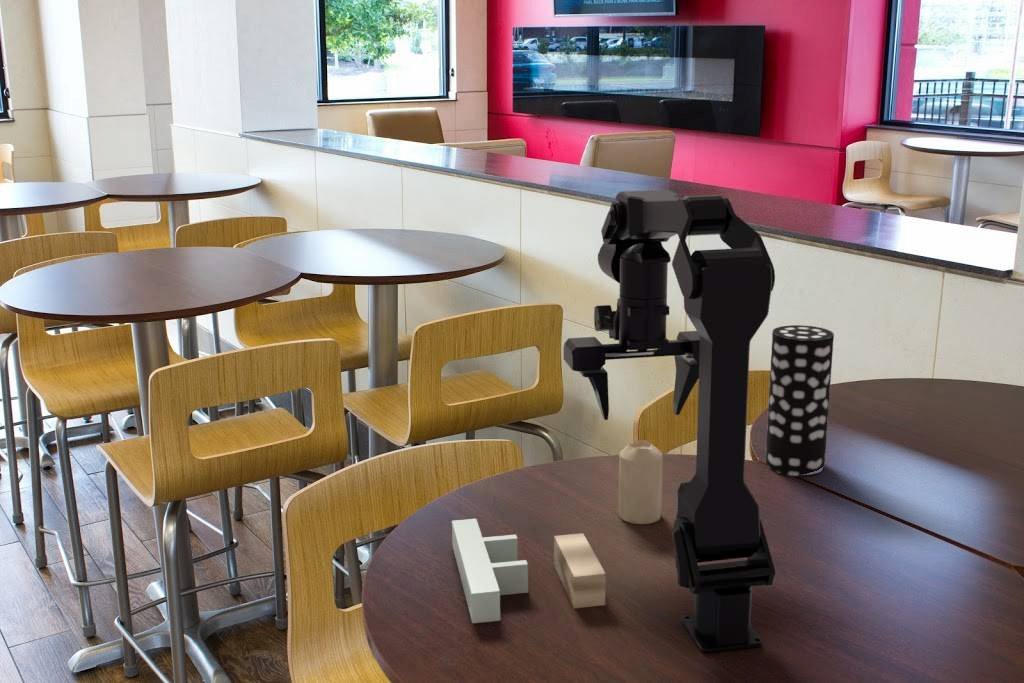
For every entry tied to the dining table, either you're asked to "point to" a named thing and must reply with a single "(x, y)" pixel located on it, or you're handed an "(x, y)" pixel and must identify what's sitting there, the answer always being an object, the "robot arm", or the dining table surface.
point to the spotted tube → (798, 399)
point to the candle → (640, 483)
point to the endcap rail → (487, 569)
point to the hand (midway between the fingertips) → (641, 416)
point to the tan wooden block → (579, 570)
